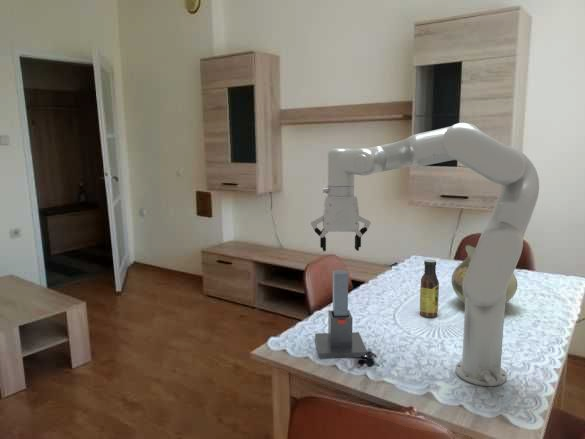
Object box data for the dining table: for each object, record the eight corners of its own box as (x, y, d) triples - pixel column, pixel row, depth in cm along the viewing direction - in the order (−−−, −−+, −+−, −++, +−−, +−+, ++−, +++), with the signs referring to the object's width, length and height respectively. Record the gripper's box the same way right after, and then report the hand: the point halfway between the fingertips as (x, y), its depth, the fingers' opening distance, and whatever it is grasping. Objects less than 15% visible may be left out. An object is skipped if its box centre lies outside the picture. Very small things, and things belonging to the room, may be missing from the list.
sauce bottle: (438, 318, 163) (440, 263, 160) (420, 317, 164) (422, 262, 161) (436, 312, 169) (439, 258, 166) (419, 311, 171) (420, 258, 167)
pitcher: (475, 321, 160) (479, 250, 156) (436, 299, 183) (439, 236, 179) (529, 314, 166) (535, 246, 162) (485, 294, 189) (489, 233, 184)
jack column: (347, 344, 140) (348, 273, 136) (333, 345, 140) (334, 274, 136) (345, 338, 144) (346, 269, 140) (332, 339, 144) (332, 270, 140)
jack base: (367, 356, 135) (367, 322, 134) (319, 358, 135) (318, 323, 133) (358, 336, 149) (359, 305, 147) (315, 337, 149) (314, 306, 147)
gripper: (311, 193, 130) (311, 253, 133) (373, 192, 131) (372, 252, 134) (309, 190, 138) (310, 247, 140) (368, 190, 138) (367, 246, 141)
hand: (340, 249), depth 137 cm, fingers open, 9 cm apart
